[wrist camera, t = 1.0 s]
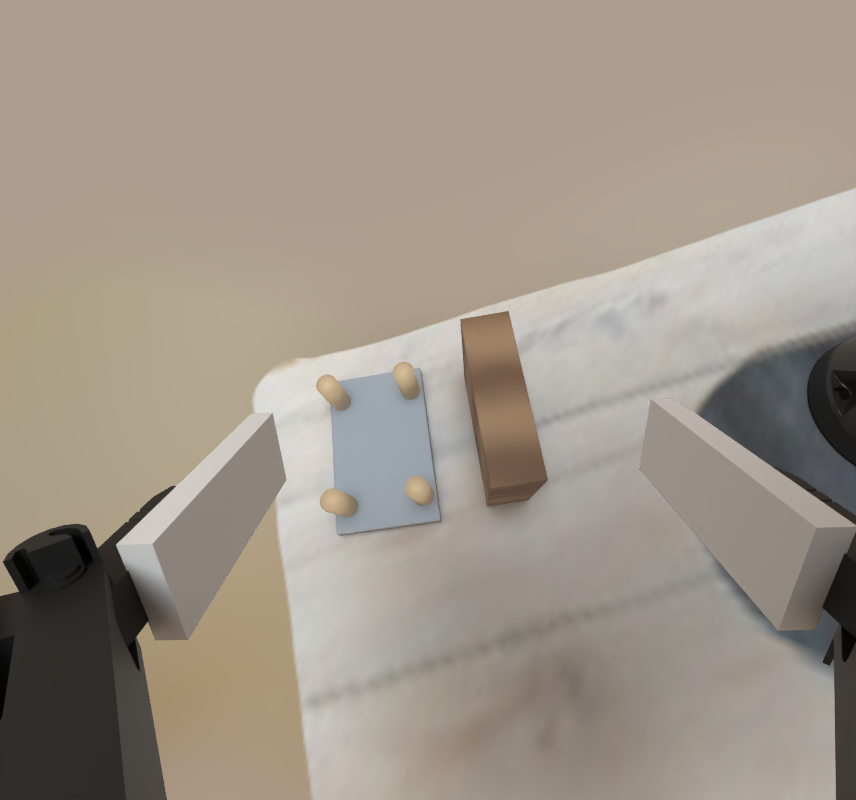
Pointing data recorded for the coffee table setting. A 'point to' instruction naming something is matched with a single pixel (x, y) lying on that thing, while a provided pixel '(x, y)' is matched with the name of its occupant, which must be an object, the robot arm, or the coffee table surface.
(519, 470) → the board
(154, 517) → the robot arm
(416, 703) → the coffee table surface
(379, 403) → the cradle
